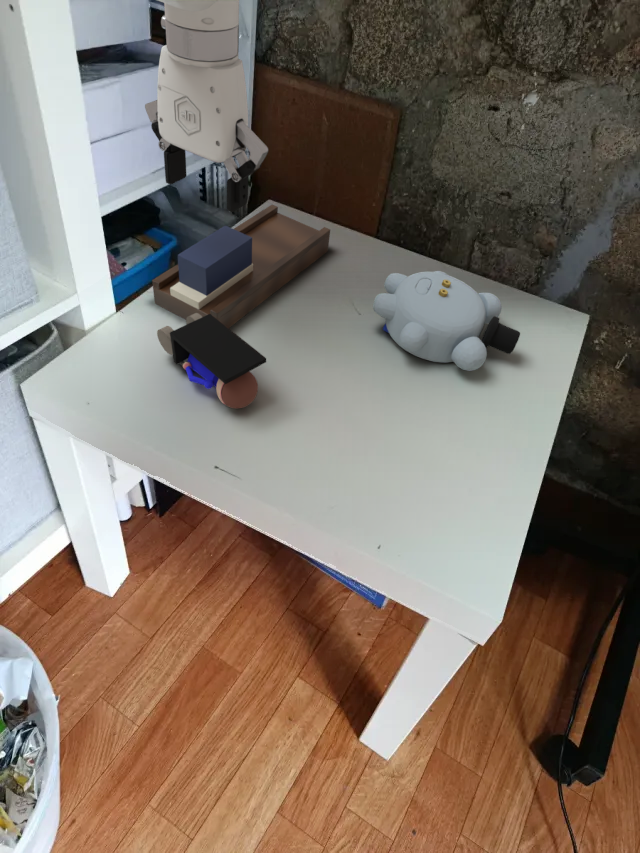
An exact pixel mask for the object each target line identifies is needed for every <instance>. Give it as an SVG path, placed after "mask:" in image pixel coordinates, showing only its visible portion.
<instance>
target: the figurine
mask: <svg viewBox="0 0 640 853" xmlns="http://www.w3.org/2000/svg"><path fill="white" fill-rule="evenodd" d="M383 285H384V286H383V287H384V289H385V292H382V293H378V294H377V295H376V296H375V298H374V301H373V305H372V309H373V312H374V313H375V314H377V315H378V316H380V317H381V318H384V319H385V323H384V325H383V327H382V331H384V332H386V333H387V334H389V336H390V337H391V339H392V340H393V341H394V342H395V343H396V344H397V345H398V346H399V347H400V348H402V349H403V350H404V351H406V352H407V353H410V354H411V355H413V356H415V357H418V358H420V359H422V360H427V361H430V362H434V363H452V362H453V363H454V364H455V365H456V366H457V367H458V368H460V369H461V370H464V371H467V372H471V371H475V370H479V369H480V368H481V367H482V366H483V365H484V363H485V362H486V359H487V355H488V354H487V353H488V352H487V348H488V347H489V348H492V349H495V350H497V351H500V352H503V353H505V354H507V355H511V354H512V353H513V351H514V349H515V348H516V346H517V344H518V342H519V339H520V336H521V332H520V331H519V330H517V329H514V328H512V327H509V326H507V325H504V324H502V323H500V315H501V313H502V309H503V308H502V307H503V306H502V302H501V300H500V298H498V296H497V295H495V294H493V293H491V292H477V291H476V290H475V289H474V288H473V287H471V286H470V285H469V284H467V283H466V282H464V281H462V280H461V279H458V278H456V277H454V276H451V275H449V274H448V273H446V272H444V271H441V270H434V271H419V272H416V273H413V274H411V275H406V274H403V273H398V272H391V273H390V274H388V276H387V277H386V279H385V281H384V284H383ZM486 324H487V326H486V328H485V330H484V332H483V329H484V326H485V325H486ZM482 332H483V335H482V337H481V339H480V338H479V337H480V335H481V333H482Z"/></svg>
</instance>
